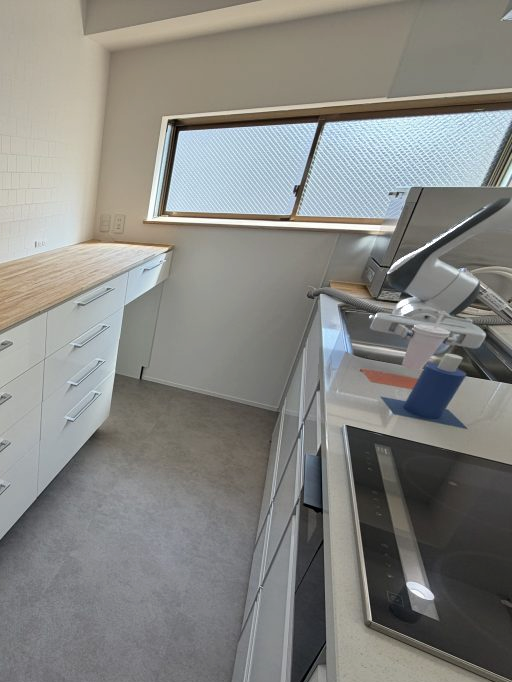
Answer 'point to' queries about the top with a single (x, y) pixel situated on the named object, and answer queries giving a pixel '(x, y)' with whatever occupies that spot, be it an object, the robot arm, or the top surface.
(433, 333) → the smoothie
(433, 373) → the blue bottle
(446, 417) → the blue mat
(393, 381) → the terracotta mat
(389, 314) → the robot arm
